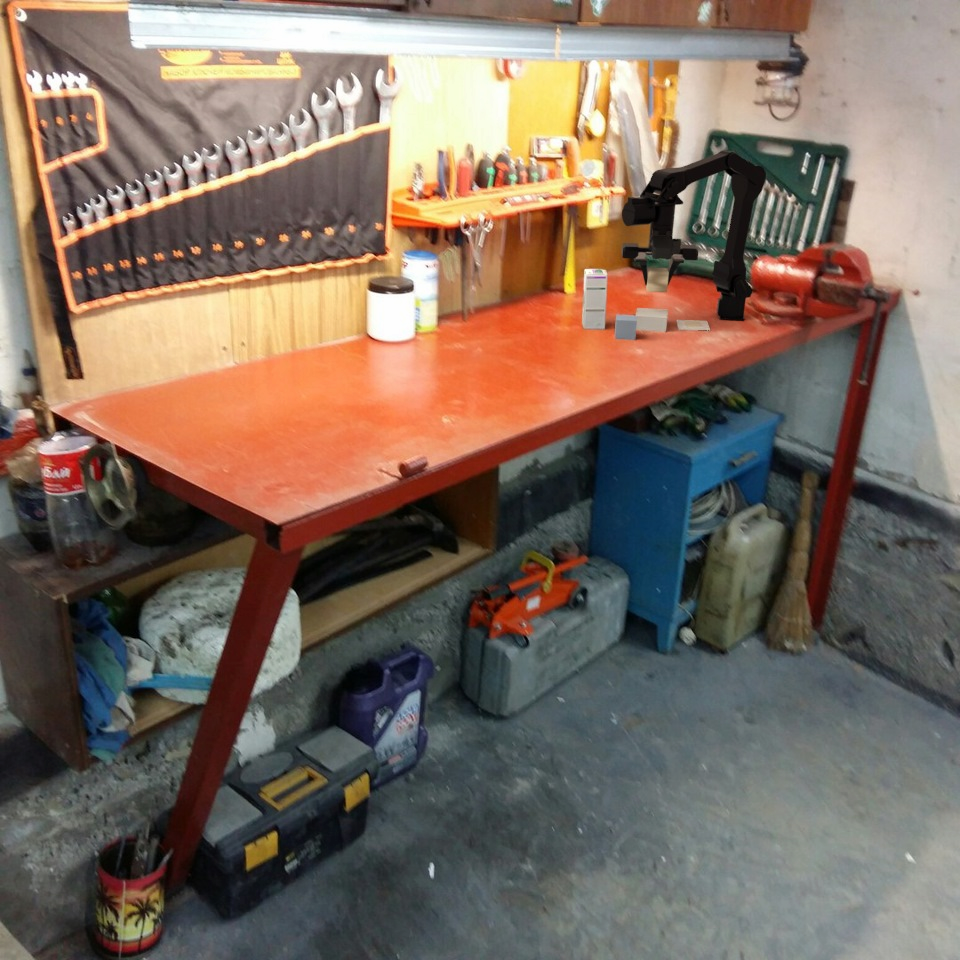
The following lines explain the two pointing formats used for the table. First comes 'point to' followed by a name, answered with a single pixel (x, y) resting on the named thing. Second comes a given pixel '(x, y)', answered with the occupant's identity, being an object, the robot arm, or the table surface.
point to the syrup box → (594, 298)
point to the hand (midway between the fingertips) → (656, 285)
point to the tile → (692, 325)
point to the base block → (651, 319)
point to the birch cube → (657, 279)
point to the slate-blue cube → (625, 327)
